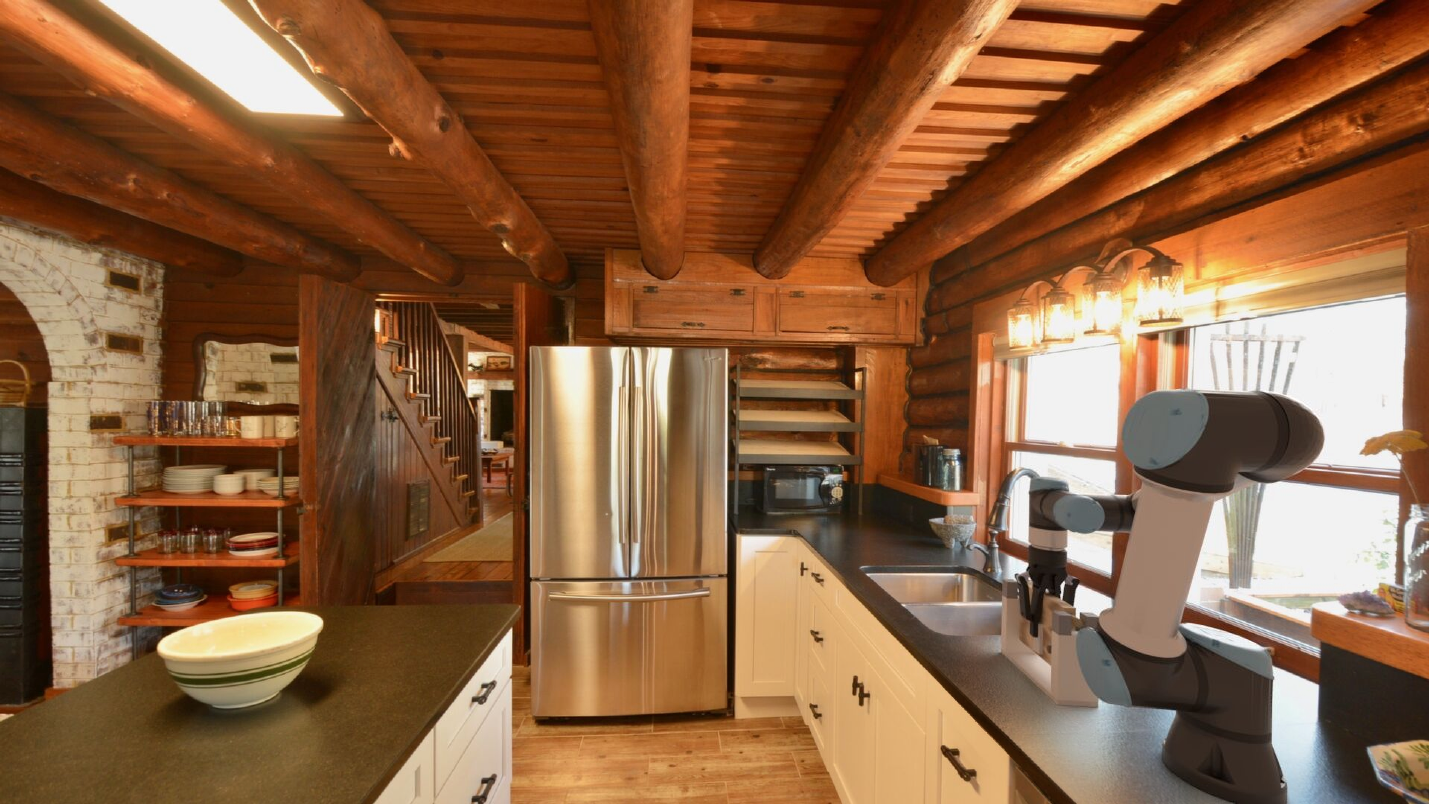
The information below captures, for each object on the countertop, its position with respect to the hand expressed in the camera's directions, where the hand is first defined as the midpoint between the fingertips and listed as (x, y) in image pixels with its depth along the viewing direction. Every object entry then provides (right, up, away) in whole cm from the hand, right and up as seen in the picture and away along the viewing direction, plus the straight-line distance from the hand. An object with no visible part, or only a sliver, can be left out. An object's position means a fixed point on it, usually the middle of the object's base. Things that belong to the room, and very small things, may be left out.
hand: (1045, 651), depth 124 cm
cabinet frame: (0, -6, 0) cm, 6 cm away
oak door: (0, -1, 0) cm, 1 cm away
